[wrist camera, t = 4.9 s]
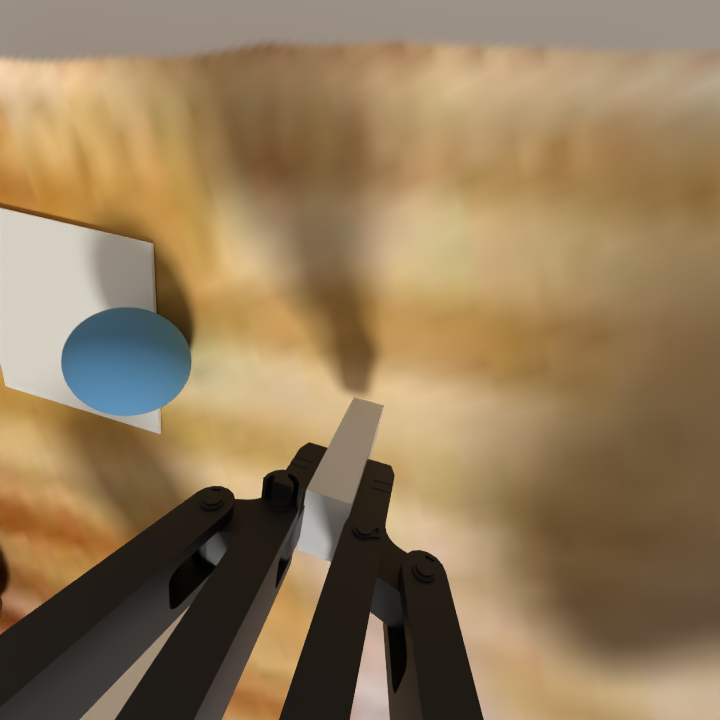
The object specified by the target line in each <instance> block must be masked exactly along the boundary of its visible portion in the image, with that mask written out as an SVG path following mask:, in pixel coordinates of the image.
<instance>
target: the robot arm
mask: <svg viewBox="0 0 720 720" xmlns="http://www.w3.org/2000/svg"><path fill="white" fill-rule="evenodd" d="M383 407H384V405H380V404H376V403H373V402H369V401H366V400H362V399H358V398H355V397H354V398H353V400H352V402H351V404H350V406H349V408H348V410H347V412H346V414H345V416H344V418H343V419H342V421H341V423H340V425H339V427H338V429H337V431H336V433H335V435H334V437H333V439H332V441H331V443H330V445H329V447H328V448H326V447H323V446H320V445H316V444H313V443H310V442H309V443H307V444H306V445H304V446H303V447H301V448H300V449H299V450H298V452H297V454H296V455H295V457H294V458H293V460H292V461H291V463H290V465H289V466H288V468H287V469H286V470H276V471H273V472H271V473H268V474H267V475H266V476H265V477H264V478H263V488H262V498H258V499H251V500H244V499H235V498H234V495H233V493H232V492H231V491H230V490H229V489H227V488H224V487H222V486H212V487H207V488H204V489H202V490H200V491H198V492H197V493H195V494H194V495H193V496H191V497H190V498H188V499H187V500H186V501H184V502H183V503H182V504H180V505H179V506H177V507H176V508H175V509H173V510H172V511H171V512H169V513H168V514H166V515H165V516H164V517H162V518H161V519H159V520H158V521H157V522H155V523H154V524H153V525H151V526H150V527H148V528H147V529H146V530H144V531H143V532H142V533H140V534H139V535H137V536H136V537H135V538H133V539H132V540H130V541H129V542H128V543H126V544H125V545H124V546H122V547H121V548H119V549H118V550H117V551H115V552H114V553H112V554H111V555H110V556H108V557H107V558H106V559H104V560H103V561H101V562H100V563H99V564H97V565H96V566H95V567H93V568H92V569H90V570H89V571H88V572H86V573H85V574H83V575H82V576H81V577H79V578H78V579H77V580H75V581H74V582H72V583H71V584H70V585H68V586H67V587H65V588H64V589H63V590H61V591H60V592H59V593H57V594H56V595H54V596H53V597H52V598H50V599H49V600H48V601H46V602H45V603H43V604H42V605H41V606H39V607H38V608H36V609H35V610H34V611H32V612H31V613H30V614H28V615H27V616H25V617H24V618H23V619H21V620H20V621H19V622H17V623H16V624H14V625H13V626H12V627H10V628H9V629H7V630H6V631H5V632H3V633H2V634H1V635H0V720H80V719H81V718H82V717H83V716H84V714H85V713H86V712H87V711H88V710H89V709H90V708H91V707H92V706H93V705H94V704H95V703H96V702H97V701H98V700H99V699H100V698H101V697H102V696H103V695H104V694H105V693H106V692H107V691H108V690H109V689H110V688H111V687H112V686H113V684H114V683H115V682H116V681H117V680H118V679H119V678H120V677H121V676H122V675H123V674H124V673H125V672H126V671H127V670H128V669H129V668H130V667H131V666H132V665H133V664H134V663H135V662H136V661H137V660H138V659H139V658H140V657H141V656H142V654H143V653H144V652H145V651H146V650H147V649H148V648H149V647H150V646H151V645H152V644H153V643H154V642H155V641H156V640H157V639H158V638H159V637H160V636H161V635H162V634H163V633H164V632H165V631H166V630H167V629H168V628H169V627H170V626H171V624H172V623H173V622H174V621H175V620H176V619H177V618H178V617H179V616H180V615H181V614H182V613H183V612H184V611H185V610H186V609H187V608H188V607H189V608H188V609H187V611H186V612H185V614H184V615H183V617H182V618H181V620H180V621H179V623H178V624H177V626H176V627H175V629H174V631H173V632H172V634H171V635H170V637H169V638H168V640H167V641H166V643H165V644H164V646H163V647H162V649H161V650H160V652H159V653H158V655H157V656H156V658H155V659H154V661H153V662H152V664H151V665H150V667H149V668H148V670H147V671H146V673H145V674H144V676H143V677H142V679H141V680H140V682H139V683H138V685H137V686H136V688H135V689H134V691H133V692H132V694H131V695H130V697H129V699H128V700H127V702H126V703H125V705H124V706H123V708H122V709H121V711H120V712H119V714H118V715H117V717H116V718H115V720H222V717H223V715H224V713H225V711H226V708H227V706H228V704H229V702H230V699H231V697H232V695H233V693H234V690H235V688H236V686H237V684H238V681H239V679H240V677H241V675H242V672H243V670H244V668H245V666H246V663H247V661H248V659H249V657H250V654H251V652H252V650H253V648H254V645H255V643H256V641H257V639H258V636H259V634H260V632H261V630H262V627H263V625H264V623H265V621H266V618H267V616H268V614H269V612H270V609H271V607H272V605H273V603H274V600H275V598H276V596H277V594H278V591H279V589H280V587H281V585H282V582H283V580H284V578H285V576H286V573H287V571H288V569H289V567H290V564H291V560H292V554H293V551H294V549H295V547H296V545H297V550H298V551H301V552H304V553H307V554H310V555H313V556H316V557H319V558H322V559H325V560H328V561H330V562H331V565H330V568H329V571H328V574H327V577H326V580H325V583H324V586H323V589H322V592H321V595H320V598H319V601H318V604H317V607H316V610H315V613H314V616H313V619H312V622H311V625H310V628H309V631H308V634H307V637H306V640H305V643H304V646H303V649H302V652H301V655H300V658H299V661H298V664H297V667H296V670H295V673H294V676H293V679H292V682H291V685H290V688H289V691H288V694H287V697H286V700H285V703H284V706H283V709H282V712H281V715H280V718H279V720H350V715H351V709H352V704H353V699H354V693H355V688H356V683H357V678H358V672H359V667H360V662H361V656H362V651H363V646H364V641H365V635H366V630H367V625H368V620H369V614H370V612H371V613H372V614H374V615H375V616H376V617H378V618H379V619H380V620H381V621H383V630H384V643H385V657H386V671H387V684H388V698H389V711H390V720H484V719H483V716H482V712H481V708H480V704H479V700H478V696H477V692H476V688H475V684H474V680H473V677H472V673H471V669H470V665H469V661H468V657H467V653H466V649H465V645H464V641H463V637H462V634H461V630H460V626H459V622H458V618H457V614H456V610H455V606H454V602H453V598H452V595H451V591H450V587H449V583H448V579H447V575H446V572H445V570H444V567H443V565H442V564H441V563H440V561H439V560H438V559H437V558H436V557H434V556H433V555H431V554H430V553H428V552H425V551H421V550H416V551H411V552H409V553H406V552H405V551H403V550H402V549H400V548H399V547H397V546H396V545H395V544H394V543H393V542H392V541H391V540H390V538H389V537H388V535H387V532H386V528H385V525H386V518H387V513H388V507H389V502H390V497H391V492H392V486H393V481H394V476H395V475H394V473H393V470H392V467H391V466H390V465H387V464H383V463H380V462H377V461H373V460H370V458H371V455H372V452H373V448H374V443H375V439H376V435H377V431H378V427H379V423H380V419H381V415H382V411H383ZM297 542H298V544H297Z"/></svg>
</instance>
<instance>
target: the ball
mask: <svg viewBox="0 0 720 720" xmlns="http://www.w3.org/2000/svg"><path fill="white" fill-rule="evenodd" d="M61 368H62V372H63V376H64V379H65V381H66V383H67V385H68V387H69V388H70V390H71V391H72V392H73V394H74V395H75V396H76V397H77V398H78V399H79V400H81V401H82V402H83V403H85V404H86V405H87V406H89V407H91V408H93V409H95V410H97V411H100V412H103V413H107V414H110V415H116V416H135V415H141V414H146V413H149V412H152V411H155V410H157V409H159V408H161V407H163V406H165V405H166V404H168V403H169V402H170V401H172V400H173V399H174V398H175V397H176V396H177V395H178V394H179V393H180V392H181V390H182V389H183V387H184V386H185V384H186V382H187V380H188V377H189V374H190V370H191V353H190V349H189V346H188V343H187V341H186V339H185V337H184V336H183V334H182V333H181V332H180V330H179V329H178V328H177V327H176V326H175V325H174V324H173V323H172V322H170V321H169V320H167V319H166V318H164V317H162V316H161V315H159V314H157V313H154V312H152V311H149V310H145V309H140V308H132V307H122V308H113V309H108V310H105V311H101V312H99V313H96V314H94V315H92V316H90V317H89V318H87V319H85V320H84V321H83V322H81V323H80V324H79V325H78V326H77V327H76V328H75V329H74V330H73V331H72V332H71V334H70V335H69V337H68V338H67V340H66V342H65V344H64V347H63V351H62V358H61Z"/></svg>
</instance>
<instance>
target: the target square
mask: <svg viewBox="0 0 720 720" xmlns="http://www.w3.org/2000/svg"><path fill="white" fill-rule="evenodd" d="M122 307H132V308H140V309H145V310H149V311H152V312H154V313H156V289H155V265H154V243H151V242H146V241H142V240H138V239H133V238H129V237H125V236H121V235H116V234H112V233H108V232H103V231H99V230H95V229H91V228H86V227H82V226H78V225H73V224H69V223H65V222H61V221H56V220H52V219H48V218H43V217H39V216H35V215H31V214H26V213H22V212H18V211H13V210H9V209H5V208H1V207H0V363H1V368H2V372H3V376H4V381H5V385H6V386H7V387H10V388H13V389H16V390H19V391H23V392H26V393H29V394H32V395H36V396H39V397H42V398H45V399H48V400H52V401H55V402H58V403H61V404H64V405H68V406H71V407H74V408H77V409H80V410H84V411H87V412H90V413H93V414H96V415H100V416H103V417H106V418H109V419H113V420H116V421H119V422H122V423H125V424H129V425H132V426H135V427H138V428H141V429H145V430H148V431H151V432H154V433H157V434H160V433H161V411H160V408H159V409H157V410H155V411H152V412H149V413H146V414H141V415H135V416H116V415H110V414H107V413H103V412H100V411H97V410H95V409H93V408H91V407H89V406H87V405H86V404H85V403H83V402H82V401H81V400H79V399H78V398H77V397H76V396H75V395H74V394H73V392H72V391H71V390H70V388H69V387H68V385H67V383H66V381H65V379H64V376H63V372H62V368H61V358H62V351H63V347H64V344H65V342H66V340H67V338H68V337H69V335H70V334H71V332H72V331H73V330H74V329H75V328H76V327H77V326H78V325H79V324H80V323H81V322H83V321H84V320H85V319H87V318H89V317H90V316H92V315H94V314H96V313H99V312H101V311H105V310H108V309H113V308H122Z"/></svg>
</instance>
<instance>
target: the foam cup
mask: <svg viewBox="0 0 720 720" xmlns="http://www.w3.org/2000/svg"><path fill="white" fill-rule="evenodd" d="M188 608H189V607H188ZM188 608H187V609H188ZM187 609H186V610H185V611H184V612H183V613H182V614H181V615H180V616H179V617H178V618H177V619H176V620H175V621H174V622H173V623H172V624H171V626H170V627H169V628H168V629H167V630H166V631H165V632H164V633H163V634H162V635H161V636H160V637H159V638H158V639H157V640H156V641H155V642H154V643H153V644H152V645H151V646H150V647H149V648H148V649H147V650H146V651H145V652H144V653H143V654H142V656H141V657H140V658H139V659H138V660H137V661H136V662H135V663H134V664H133V665H132V666H131V667H130V668H129V669H128V670H127V671H126V672H125V673H124V674H123V675H122V676H121V677H120V678H119V679H118V680H117V681H116V682H115V683H114V684H113V686H112V687H111V688H110V689H109V690H108V691H107V692H106V693H105V694H104V695H103V696H102V697H101V698H100V699H99V700H98V701H97V702H96V703H95V704H94V705H93V706H92V707H91V708H90V709H89V710H88V711H87V712H86V713H85V714H84V716H83V717H82V718H81V719H80V720H115V718H116V717H117V715H118V714H119V712H120V711H121V709H122V708H123V706H124V705H125V703H126V702H127V700H128V699H129V697H130V695H131V694H132V692H133V691H134V689H135V688H136V686H137V685H138V683H139V682H140V680H141V679H142V677H143V676H144V674H145V673H146V671H147V670H148V668H149V667H150V665H151V664H152V662H153V661H154V659H155V658H156V656H157V655H158V653H159V652H160V650H161V649H162V647H163V646H164V644H165V643H166V641H167V640H168V638H169V637H170V635H171V634H172V632H173V631H174V629H175V627H176V626H177V624H178V623H179V621H180V620H181V618H182V617H183V615H184V614H185V612H186V611H187Z"/></svg>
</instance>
